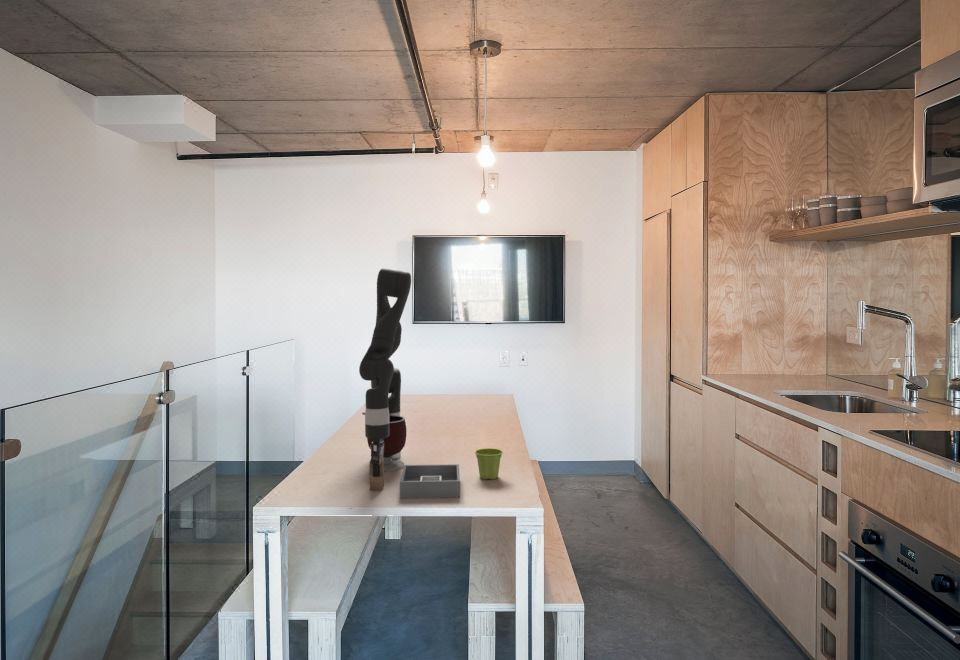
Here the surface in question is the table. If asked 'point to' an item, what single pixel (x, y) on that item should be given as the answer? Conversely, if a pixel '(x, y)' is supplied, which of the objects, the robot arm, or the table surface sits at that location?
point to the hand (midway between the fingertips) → (377, 472)
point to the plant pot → (488, 462)
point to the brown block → (377, 482)
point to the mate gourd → (393, 442)
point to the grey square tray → (430, 481)
